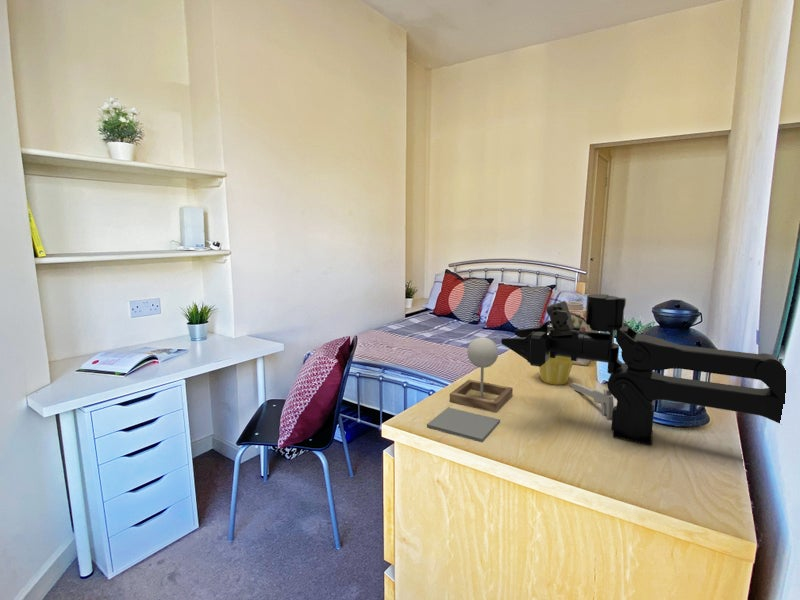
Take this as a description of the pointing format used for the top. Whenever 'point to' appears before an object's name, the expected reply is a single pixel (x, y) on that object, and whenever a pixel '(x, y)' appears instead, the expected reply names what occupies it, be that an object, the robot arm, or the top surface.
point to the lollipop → (482, 355)
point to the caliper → (598, 398)
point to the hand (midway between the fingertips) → (508, 336)
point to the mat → (464, 424)
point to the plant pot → (556, 370)
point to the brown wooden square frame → (494, 406)
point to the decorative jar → (579, 323)
